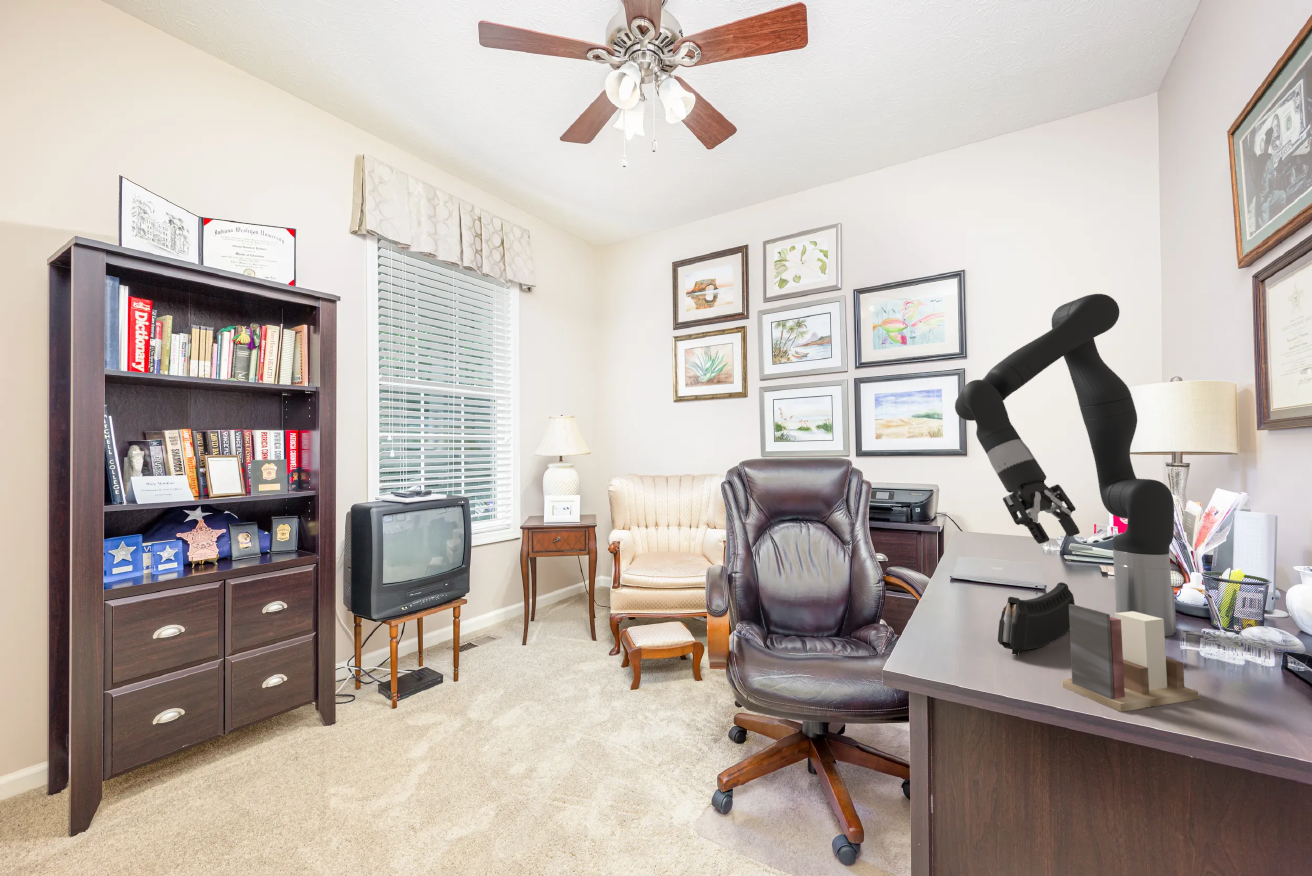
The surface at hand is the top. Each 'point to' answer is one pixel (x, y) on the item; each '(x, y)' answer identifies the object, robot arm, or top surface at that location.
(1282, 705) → the top surface
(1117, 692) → the book rack
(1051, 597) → the magazine
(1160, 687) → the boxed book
